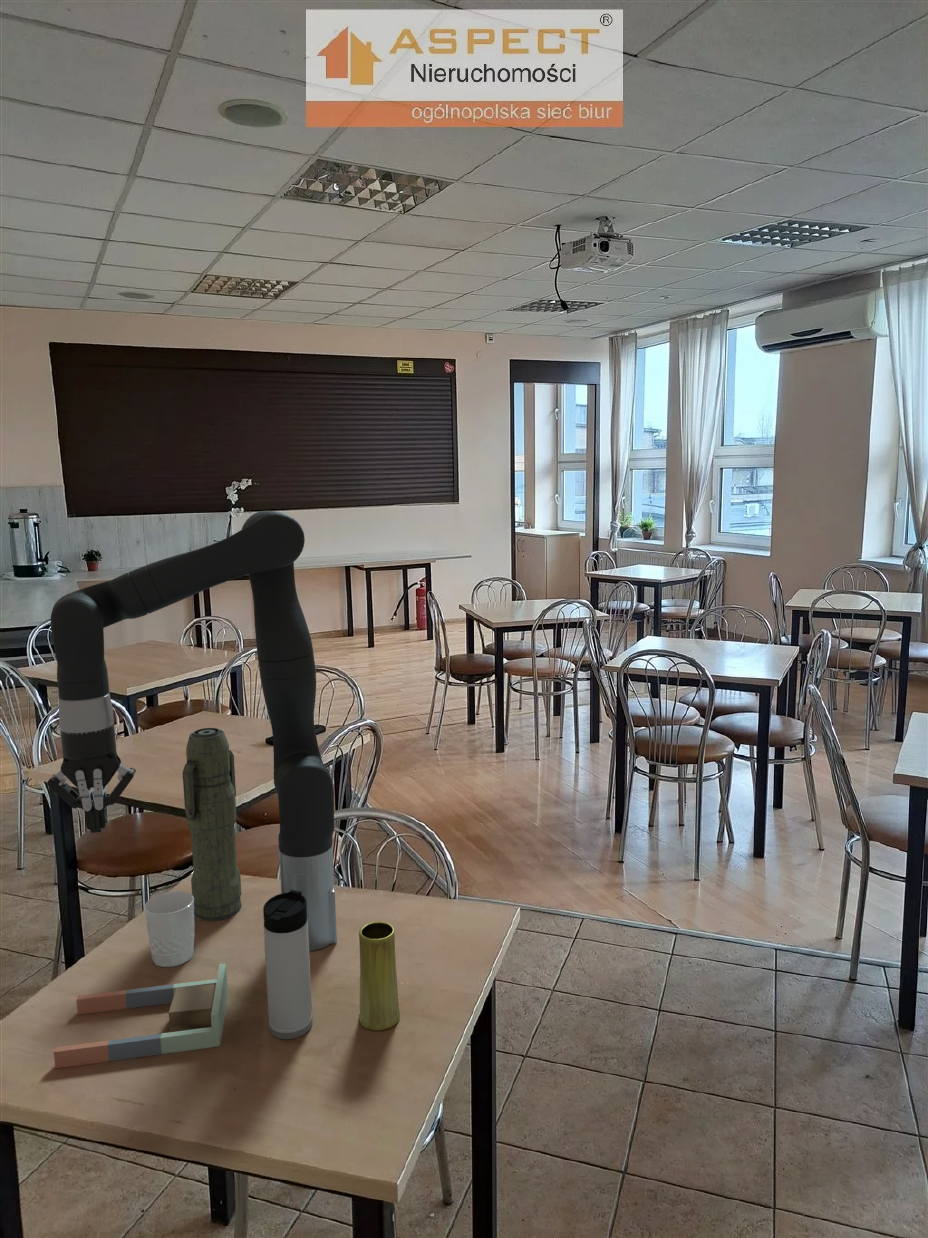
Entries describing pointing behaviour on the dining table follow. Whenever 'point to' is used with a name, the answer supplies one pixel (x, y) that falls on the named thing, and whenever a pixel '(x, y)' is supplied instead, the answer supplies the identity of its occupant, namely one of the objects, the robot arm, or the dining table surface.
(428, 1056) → the dining table surface
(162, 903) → the white cup
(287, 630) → the robot arm
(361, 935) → the vase
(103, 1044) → the channel
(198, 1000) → the walnut block
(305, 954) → the travel mug
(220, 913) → the thermos
